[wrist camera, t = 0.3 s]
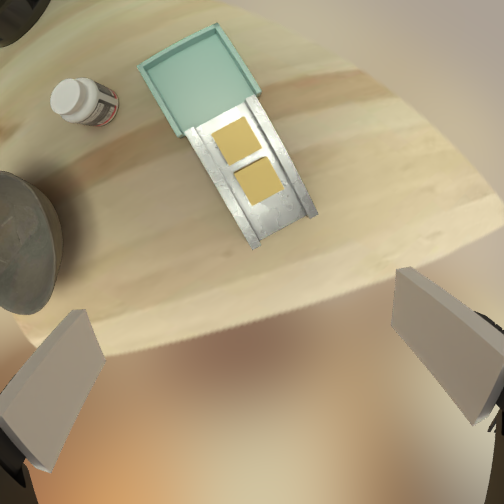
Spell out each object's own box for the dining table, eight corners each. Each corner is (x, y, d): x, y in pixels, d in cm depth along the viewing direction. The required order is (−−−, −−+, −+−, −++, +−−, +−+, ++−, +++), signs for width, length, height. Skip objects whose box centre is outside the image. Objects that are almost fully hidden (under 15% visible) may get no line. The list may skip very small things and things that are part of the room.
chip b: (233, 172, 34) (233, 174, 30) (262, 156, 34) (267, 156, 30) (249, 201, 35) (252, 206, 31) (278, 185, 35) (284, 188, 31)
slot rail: (187, 134, 33) (184, 132, 30) (252, 99, 32) (254, 94, 29) (250, 242, 38) (252, 249, 35) (311, 209, 37) (318, 214, 34)
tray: (142, 71, 30) (136, 66, 27) (218, 30, 29) (217, 22, 26) (180, 138, 33) (177, 137, 31) (259, 95, 32) (261, 91, 30)
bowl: (2, 163, 31) (-40, 170, 21) (95, 168, 33) (55, 173, 24) (6, 273, 36) (-28, 297, 27) (91, 295, 39) (62, 330, 29)
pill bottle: (83, 95, 30) (44, 82, 21) (117, 83, 30) (85, 64, 21) (86, 132, 32) (46, 127, 22) (121, 120, 32) (87, 111, 22)
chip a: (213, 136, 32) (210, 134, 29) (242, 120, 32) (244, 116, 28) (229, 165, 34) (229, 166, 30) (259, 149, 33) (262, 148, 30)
